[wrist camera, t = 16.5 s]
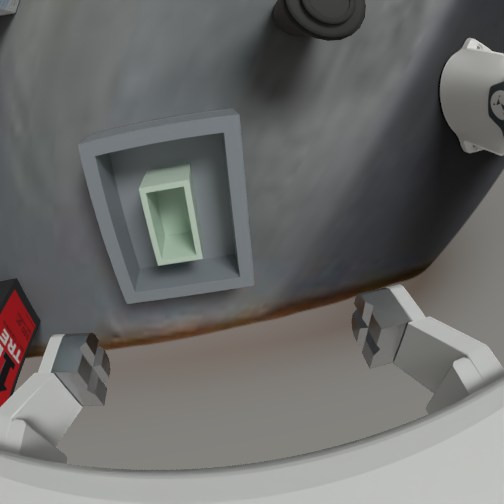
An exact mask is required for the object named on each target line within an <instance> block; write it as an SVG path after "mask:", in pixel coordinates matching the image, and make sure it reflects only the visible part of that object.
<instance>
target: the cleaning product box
mask: <svg viewBox="0 0 504 504" xmlns="http://www.w3.org/2000/svg"><path fill="white" fill-rule="evenodd" d="M39 323H40V319H39V318H38V316H37V314H36V313H35V311H34V309H33V307H32V306H31V304H30V302H29V300H28V299H27V297H26V295H25V293H24V291H23V289H22V288H21V286H20V284H19V282H18V280H17V278H16V279H11V280H6V281H1V282H0V407H1V406H2V405H3V404H4V403H5V402H6V401H7V400H8V399H9V398H10V397H11V396H12V395H13V392H14V389H15V386H16V383H17V380H18V377H19V374H20V371H21V369H22V366H23V363H24V360H25V358H26V355H27V352H28V350H29V347H30V345H31V342H32V340H33V337H34V335H35V332H36V330H37V328H38V325H39Z"/></svg>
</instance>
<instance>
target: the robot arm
mask: <svg viewBox="0 0 504 504" xmlns="http://www.w3.org/2000/svg"><path fill="white" fill-rule="evenodd" d="M440 100H441V106H442V110H443V113H444V116H445V119H446V121H447V123H448V125H449V126H450V128H451V129H452V130H453V131H454V132H455V134H456V135H457V136H458V138H459V141H460V144H461V147H462V149H463V151H464V152H467V153H473V152H477V151H481V150H487V151H490V152H492V153H495V154H497V155H500V156H503V155H504V54H503V53H498V52H493V51H491V50H490V49H489V48H487V47H486V46H484V45H483V44H481V43H480V42H478V41H477V40H475V39H472V38H468V39H467V40H466V41H465V43H464V45H463V47H462V49H461V50H460V51H458V52H457V53H455V54H454V55H452V56H451V57H450V59H449V60H448V61H447V63H446V65H445V67H444V69H443V72H442V76H441V82H440ZM355 306H356V307H357V310H356V311H355V312H354V313H353V315H352V330H353V333H354V336H355V339H356V341H357V342H358V343H359V344H361V345H363V346H364V347H363V351H362V354H363V355H364V358H365V360H366V362H367V364H368V366H369V368H374V367H378V366H382V365H385V364H389V363H393V362H394V363H393V364H395V365H396V366H397V367H399V368H400V369H402V370H403V371H404V372H406V373H407V374H408V375H410V376H411V377H412V378H414V379H415V380H416V381H418V382H419V383H420V384H422V385H423V386H425V387H426V388H427V389H429V390H430V391H431V392H433V393H434V395H433V397H432V398H431V400H430V401H429V403H428V404H427V407H426V410H427V412H428V415H426V416H424V417H421V418H419V419H416V420H414V421H411V422H409V423H406V424H403V425H401V426H398V427H395V428H393V429H390V430H387V431H384V432H381V433H378V434H375V435H372V436H369V437H366V438H363V439H360V440H356V441H353V442H350V443H346V444H342V445H339V446H335V447H331V448H327V449H323V450H319V451H315V452H311V453H306V454H302V455H297V456H292V457H287V458H282V459H276V460H270V461H264V462H258V463H251V464H243V465H235V466H226V467H215V468H204V469H203V468H202V469H184V470H129V469H111V468H97V467H87V466H79V465H71V464H66V463H67V457H66V455H65V454H64V453H62V452H61V451H59V450H58V449H57V448H56V445H57V444H58V442H59V441H60V439H61V438H62V436H63V435H64V433H65V432H66V431H67V429H68V428H69V426H70V425H71V423H72V422H73V420H74V419H75V418H76V416H77V415H78V413H79V412H80V410H81V409H82V406H104V404H105V397H106V392H107V388H106V386H105V384H104V382H106V380H107V379H108V378H109V375H110V362H109V358H108V356H107V354H106V352H105V350H104V349H102V348H100V347H99V346H98V342H99V340H98V339H97V337H96V335H95V334H94V333H75V334H55V335H53V336H52V337H51V338H50V340H49V343H48V346H47V348H46V351H45V354H44V356H43V359H42V362H41V365H40V368H39V370H38V373H34V374H33V375H32V376H31V377H30V378H29V379H28V380H27V381H26V382H25V383H24V384H23V385H22V386H21V387H20V388H19V389H18V390H17V391H16V392H15V393H14V394H13V395H12V396H11V397H10V398H9V399H8V400H7V401H6V402H5V403H4V404H3V405H2V406H1V407H0V504H504V369H503V367H502V366H501V364H500V363H499V362H498V360H497V359H496V357H495V356H494V354H493V353H492V351H491V350H490V349H489V347H488V346H487V345H485V344H483V343H481V342H479V341H478V340H476V339H473V338H472V337H470V336H468V335H466V334H464V333H462V332H460V331H458V330H456V329H454V328H452V327H450V326H448V325H446V324H444V323H442V322H440V321H438V320H436V319H434V318H432V317H425V315H424V314H423V313H422V311H421V310H420V308H419V307H418V306H417V304H416V303H415V301H414V300H413V299H412V297H411V296H410V295H409V293H408V292H407V291H406V289H405V288H404V287H403V286H402V285H400V284H399V285H394V286H390V287H386V288H382V289H378V290H373V291H369V292H364V293H360V294H357V296H356V298H355Z"/></svg>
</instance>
